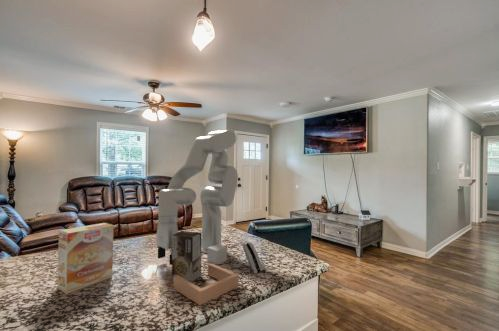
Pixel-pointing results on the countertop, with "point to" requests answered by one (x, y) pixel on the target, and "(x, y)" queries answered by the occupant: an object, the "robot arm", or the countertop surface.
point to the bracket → (211, 291)
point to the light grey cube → (217, 254)
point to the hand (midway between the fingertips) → (167, 260)
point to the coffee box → (186, 255)
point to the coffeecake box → (84, 256)
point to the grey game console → (253, 257)
